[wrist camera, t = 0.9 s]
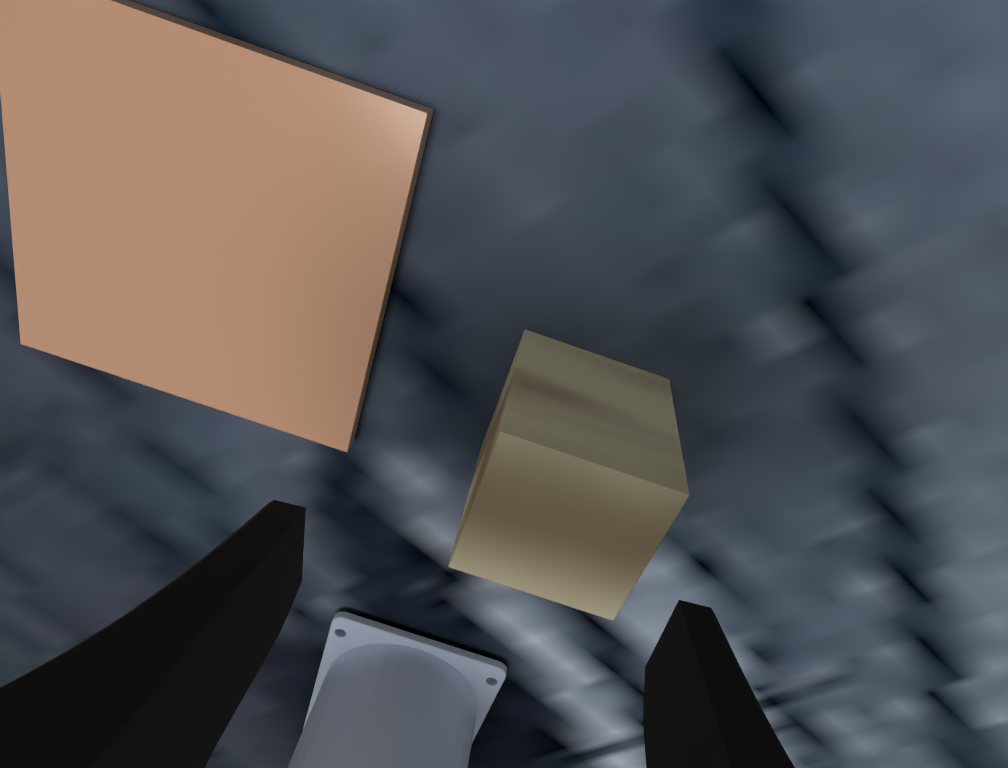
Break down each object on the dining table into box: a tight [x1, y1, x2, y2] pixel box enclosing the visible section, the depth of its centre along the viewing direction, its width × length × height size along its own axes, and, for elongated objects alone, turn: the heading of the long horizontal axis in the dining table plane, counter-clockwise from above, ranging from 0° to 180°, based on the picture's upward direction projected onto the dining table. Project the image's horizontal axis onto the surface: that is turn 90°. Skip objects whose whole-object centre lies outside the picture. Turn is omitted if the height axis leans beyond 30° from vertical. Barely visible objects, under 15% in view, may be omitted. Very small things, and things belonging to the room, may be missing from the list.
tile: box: [0, 0, 434, 452], centre depth 21 cm, size 12×12×1 cm
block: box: [448, 329, 689, 620], centre depth 20 cm, size 5×5×6 cm
